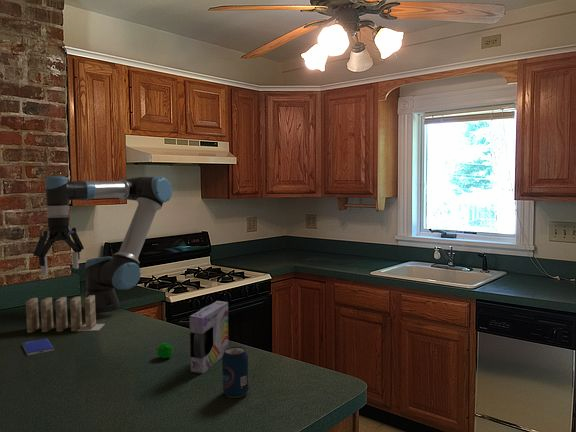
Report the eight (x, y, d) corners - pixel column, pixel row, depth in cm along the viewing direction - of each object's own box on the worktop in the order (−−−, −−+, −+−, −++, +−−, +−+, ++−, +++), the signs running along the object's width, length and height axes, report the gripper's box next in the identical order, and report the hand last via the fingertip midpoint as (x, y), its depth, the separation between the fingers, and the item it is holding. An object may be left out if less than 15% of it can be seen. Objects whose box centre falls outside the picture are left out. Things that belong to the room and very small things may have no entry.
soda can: (217, 393, 136) (216, 350, 135) (237, 385, 140) (236, 343, 139) (233, 401, 131) (232, 356, 130) (254, 392, 136) (253, 349, 135)
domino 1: (39, 327, 198) (37, 297, 197) (32, 332, 192) (30, 301, 191) (34, 327, 198) (32, 297, 197) (27, 332, 192) (25, 301, 191)
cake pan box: (202, 375, 148) (200, 317, 147) (187, 373, 150) (185, 315, 148) (230, 353, 166) (229, 301, 165) (216, 351, 168) (215, 300, 166)
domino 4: (82, 326, 199) (80, 296, 198) (76, 330, 193) (75, 300, 192) (76, 326, 199) (75, 296, 198) (71, 330, 193) (69, 300, 192)
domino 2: (53, 327, 198) (51, 297, 197) (47, 331, 192) (45, 301, 191) (48, 327, 198) (46, 297, 197) (42, 331, 192) (40, 301, 191)
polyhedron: (175, 355, 165) (175, 341, 164) (168, 361, 160) (167, 346, 159) (162, 354, 166) (161, 340, 166) (154, 360, 161) (153, 345, 161)
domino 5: (96, 324, 199) (94, 295, 198) (91, 329, 194) (89, 298, 193) (91, 324, 199) (89, 295, 198) (86, 329, 193) (84, 299, 192)
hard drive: (22, 342, 177) (27, 352, 167) (47, 338, 182) (54, 347, 171) (22, 346, 177) (27, 357, 167) (47, 342, 182) (54, 351, 172)
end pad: (104, 324, 201) (104, 323, 201) (98, 330, 193) (98, 329, 193) (84, 325, 200) (84, 324, 200) (77, 331, 192) (77, 330, 192)
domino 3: (67, 326, 199) (66, 296, 198) (62, 331, 193) (60, 300, 192) (62, 326, 199) (61, 297, 198) (56, 331, 193) (55, 300, 192)
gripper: (79, 214, 205) (81, 265, 206) (21, 218, 183) (24, 276, 185) (91, 214, 201) (93, 266, 203) (34, 219, 179) (37, 277, 181)
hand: (60, 271), depth 194 cm, fingers open, 13 cm apart
